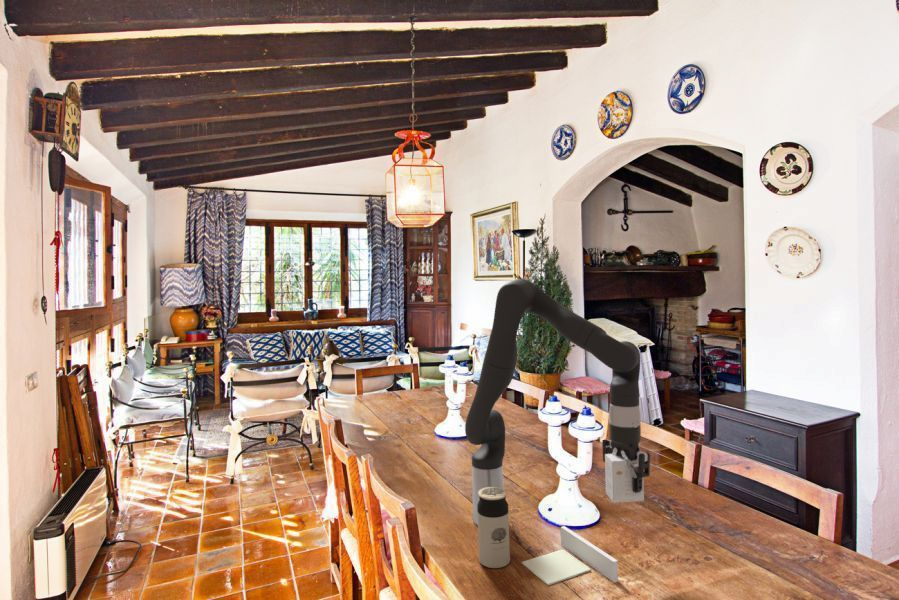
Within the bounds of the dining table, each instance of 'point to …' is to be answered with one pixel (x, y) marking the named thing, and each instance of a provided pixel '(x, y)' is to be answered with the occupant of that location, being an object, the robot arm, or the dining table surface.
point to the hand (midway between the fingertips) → (625, 486)
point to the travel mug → (493, 527)
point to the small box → (620, 480)
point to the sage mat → (556, 567)
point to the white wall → (590, 554)
